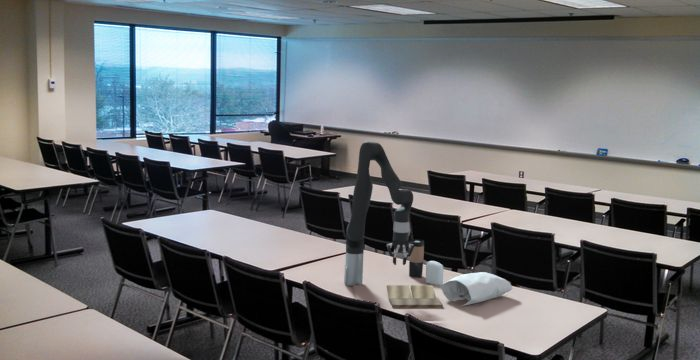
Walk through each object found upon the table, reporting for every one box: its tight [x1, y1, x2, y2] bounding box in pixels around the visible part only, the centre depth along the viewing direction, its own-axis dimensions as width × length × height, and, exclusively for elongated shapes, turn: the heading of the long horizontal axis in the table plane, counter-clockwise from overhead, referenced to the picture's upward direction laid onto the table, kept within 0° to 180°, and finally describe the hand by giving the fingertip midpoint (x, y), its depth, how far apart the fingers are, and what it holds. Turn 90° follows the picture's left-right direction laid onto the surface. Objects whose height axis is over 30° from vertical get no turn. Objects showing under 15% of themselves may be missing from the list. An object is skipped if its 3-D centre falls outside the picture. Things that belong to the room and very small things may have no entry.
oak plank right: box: [410, 284, 437, 298], centre depth 312 cm, size 11×9×2 cm
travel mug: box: [408, 238, 425, 279], centre depth 350 cm, size 8×8×20 cm
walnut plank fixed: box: [388, 297, 444, 309], centre depth 303 cm, size 24×9×2 cm, turn 96°
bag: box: [439, 271, 513, 307], centre depth 316 cm, size 19×19×35 cm
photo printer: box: [425, 260, 444, 286], centre depth 338 cm, size 10×4×12 cm, turn 39°
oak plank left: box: [386, 284, 413, 300], centre depth 311 cm, size 11×9×2 cm
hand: (399, 264), depth 312 cm, fingers open, 3 cm apart
